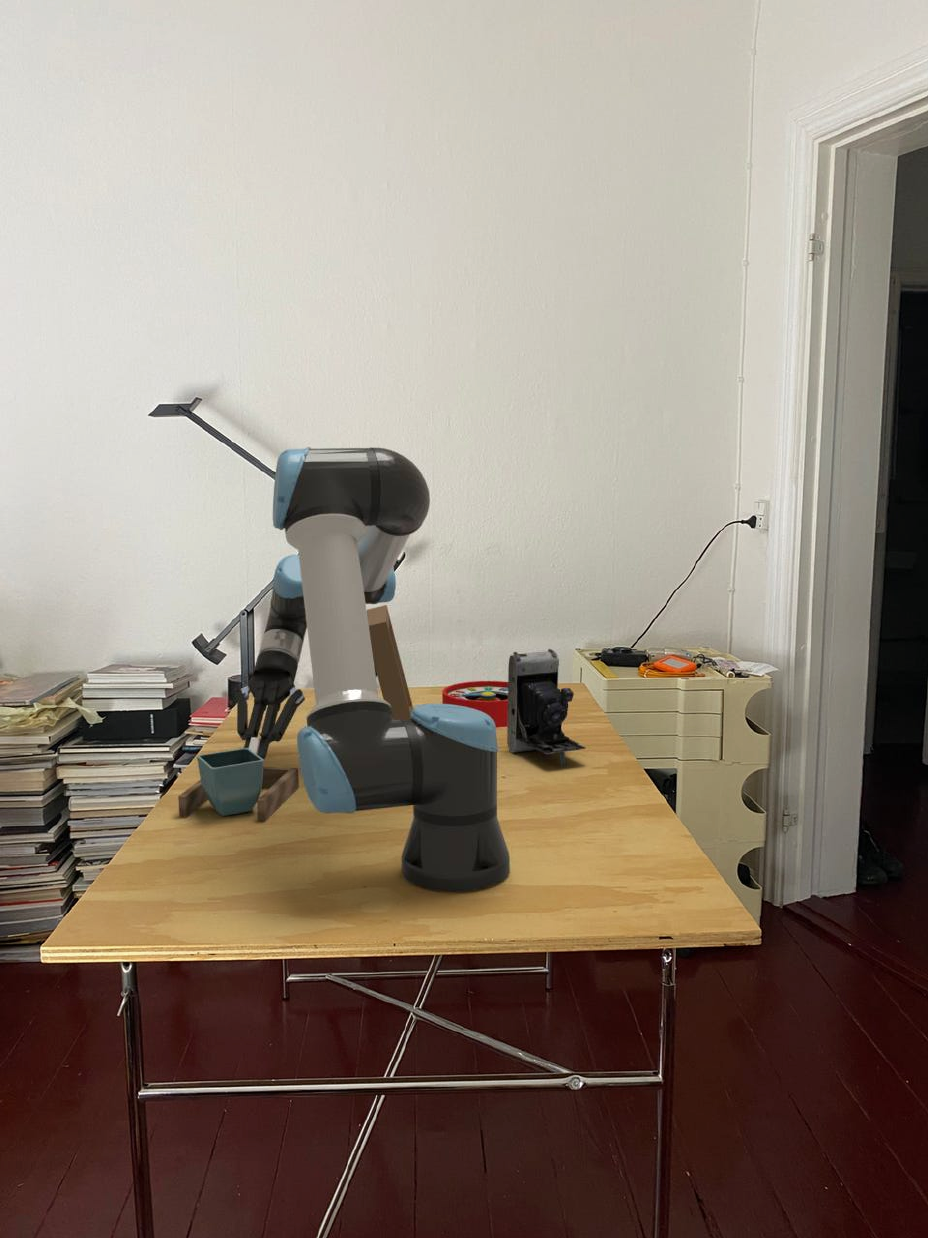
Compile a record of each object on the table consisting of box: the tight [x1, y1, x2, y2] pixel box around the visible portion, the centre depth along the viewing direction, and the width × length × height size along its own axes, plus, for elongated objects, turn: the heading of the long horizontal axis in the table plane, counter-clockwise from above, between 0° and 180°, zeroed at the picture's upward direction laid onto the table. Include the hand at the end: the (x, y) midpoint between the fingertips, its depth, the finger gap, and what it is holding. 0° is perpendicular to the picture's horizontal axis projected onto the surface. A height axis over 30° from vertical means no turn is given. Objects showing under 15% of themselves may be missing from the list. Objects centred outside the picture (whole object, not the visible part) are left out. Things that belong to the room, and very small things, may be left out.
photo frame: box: [366, 604, 414, 720], centre depth 220 cm, size 15×22×25 cm
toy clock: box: [441, 680, 508, 728], centre depth 233 cm, size 20×6×20 cm
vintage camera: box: [506, 648, 587, 768], centre depth 200 cm, size 10×16×20 cm, turn 24°
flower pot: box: [196, 747, 265, 817], centre depth 174 cm, size 9×9×9 cm
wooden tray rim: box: [177, 766, 300, 823], centre depth 178 cm, size 17×14×4 cm
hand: (249, 774), depth 182 cm, fingers closed
